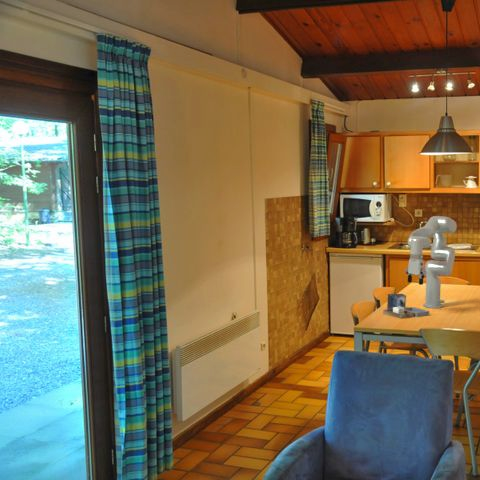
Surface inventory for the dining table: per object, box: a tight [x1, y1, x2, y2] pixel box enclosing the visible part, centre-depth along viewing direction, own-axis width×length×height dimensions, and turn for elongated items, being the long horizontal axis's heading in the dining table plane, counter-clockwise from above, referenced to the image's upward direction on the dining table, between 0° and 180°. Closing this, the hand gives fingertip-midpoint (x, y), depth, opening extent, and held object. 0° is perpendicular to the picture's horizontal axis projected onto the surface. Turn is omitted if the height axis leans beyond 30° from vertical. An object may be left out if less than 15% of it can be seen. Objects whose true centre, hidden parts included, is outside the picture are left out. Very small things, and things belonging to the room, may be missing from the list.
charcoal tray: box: [404, 306, 430, 318], centre depth 453 cm, size 11×15×3 cm
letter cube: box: [393, 307, 404, 314], centre depth 449 cm, size 5×5×5 cm
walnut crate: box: [382, 308, 414, 320], centre depth 449 cm, size 11×16×3 cm
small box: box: [386, 293, 407, 310], centre depth 466 cm, size 11×6×10 cm, turn 101°
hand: (415, 283), depth 451 cm, fingers open, 9 cm apart
